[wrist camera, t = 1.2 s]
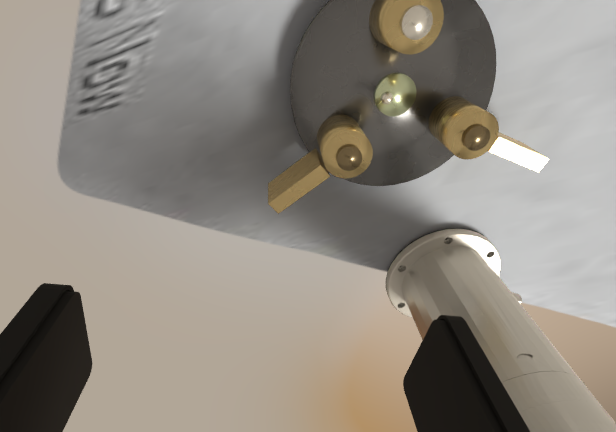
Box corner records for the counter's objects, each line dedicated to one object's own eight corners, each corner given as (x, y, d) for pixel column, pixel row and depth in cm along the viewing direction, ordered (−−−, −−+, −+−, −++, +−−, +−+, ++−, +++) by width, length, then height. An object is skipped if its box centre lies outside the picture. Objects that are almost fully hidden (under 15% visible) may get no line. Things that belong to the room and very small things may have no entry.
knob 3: (420, 131, 30) (442, 152, 26) (444, 89, 28) (472, 105, 24) (502, 165, 32) (534, 189, 28) (529, 128, 31) (567, 149, 27)
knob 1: (344, 105, 28) (356, 123, 24) (369, 139, 30) (384, 162, 26) (258, 171, 31) (257, 198, 27) (286, 200, 32) (288, 229, 28)
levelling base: (527, 29, 28) (548, 32, 26) (419, 199, 35) (428, 212, 33) (342, -76, 24) (350, -81, 22) (262, 144, 31) (262, 155, 29)
